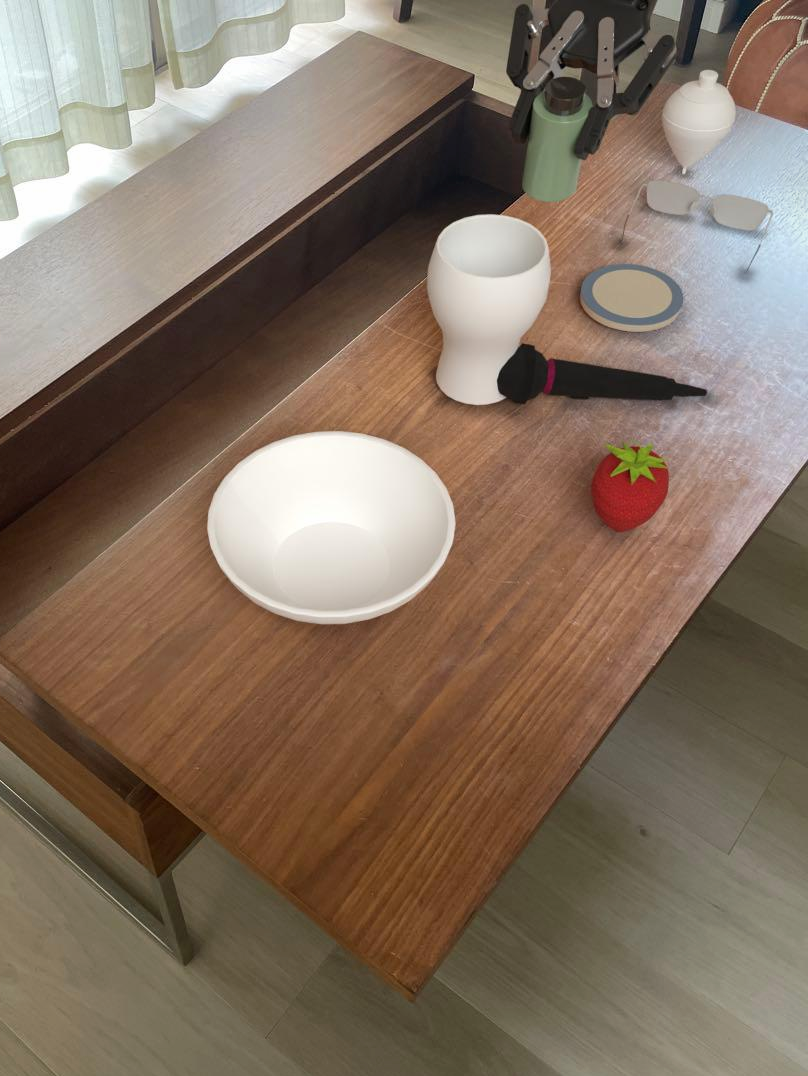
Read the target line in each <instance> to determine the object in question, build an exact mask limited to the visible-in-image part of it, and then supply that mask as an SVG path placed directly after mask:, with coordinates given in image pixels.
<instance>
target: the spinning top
mask: <svg viewBox="0 0 808 1076" xmlns="http://www.w3.org/2000/svg"><path fill="white" fill-rule="evenodd" d="M718 73H719V72H717V71H715V70H713V69H704V70H702V71H700V73H699V76H698V80H692V81H688V82H686V83H684V84H682V86H680V87H679V88H678V89H676V90H675V91H674V92H673V93H672V94H671V95H669V97H668V98H667V100H666V102H665V103H664V105H663V109H662V114H661V123H662V124H661V125H662V128H663V133H664V135H665V139H666V141H667V143H668V145H669V148H670V149H671V151H672V153H673V155H674V157H675V159H676V160H677V162H678V163H679V165H680V166H681V167H682V169H681V170H682V171H681V174H682V175H685V174H686V172H687V169H688V168H689V167H691V166H692V165H694V164H696V163H697V162H699V161H700V160H701V159H703V158H704V157H705V156H707V155H708V154H709V153H710V152H711V151H713V150H714V149H715V148H717V146H718V145H719V144H720V143H721V142H722V141H723V140H724V139H725V137H726V136H727V135H728V134H729V133H730V131H731V130H732V128H733V126H734V123H735V121H736V114H737V108H736V104H735V101H734V98H733V96H732V95H731V93H730V91H729V89H728V88H727V87H725V86H724V85H723V84H721V83H719V82H717V80H718V78H719V74H718Z"/></svg>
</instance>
